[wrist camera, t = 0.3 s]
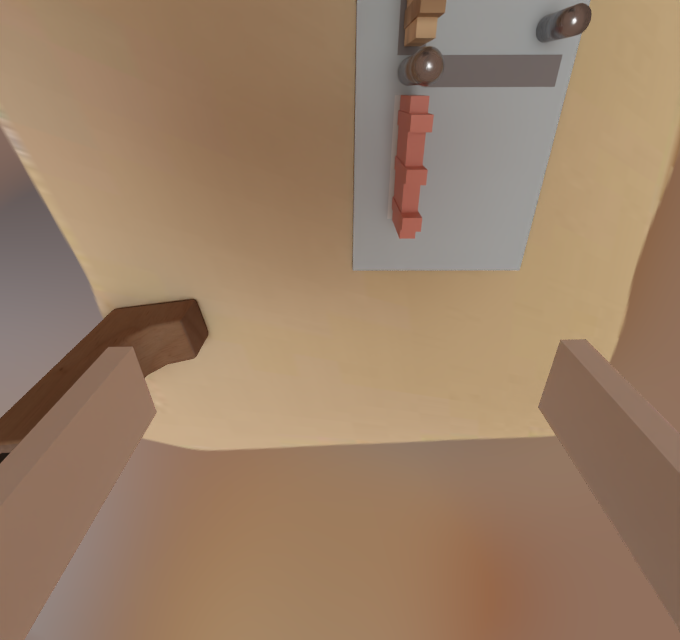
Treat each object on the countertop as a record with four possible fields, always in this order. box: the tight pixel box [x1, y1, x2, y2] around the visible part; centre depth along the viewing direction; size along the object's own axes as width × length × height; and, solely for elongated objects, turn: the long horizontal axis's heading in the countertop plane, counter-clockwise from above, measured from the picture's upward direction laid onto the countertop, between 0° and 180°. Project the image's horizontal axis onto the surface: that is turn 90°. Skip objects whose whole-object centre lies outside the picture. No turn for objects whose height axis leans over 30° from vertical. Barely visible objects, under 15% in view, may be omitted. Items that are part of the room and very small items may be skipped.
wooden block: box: [0, 300, 208, 454], centre depth 32 cm, size 9×4×18 cm, turn 98°
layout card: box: [353, 0, 590, 270], centre depth 29 cm, size 28×16×1 cm, turn 0°
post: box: [398, 46, 444, 87], centre depth 25 cm, size 2×2×8 cm
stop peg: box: [536, 3, 591, 43], centre depth 25 cm, size 2×2×4 cm
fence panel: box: [392, 95, 434, 239], centre depth 28 cm, size 10×1×6 cm, turn 0°
